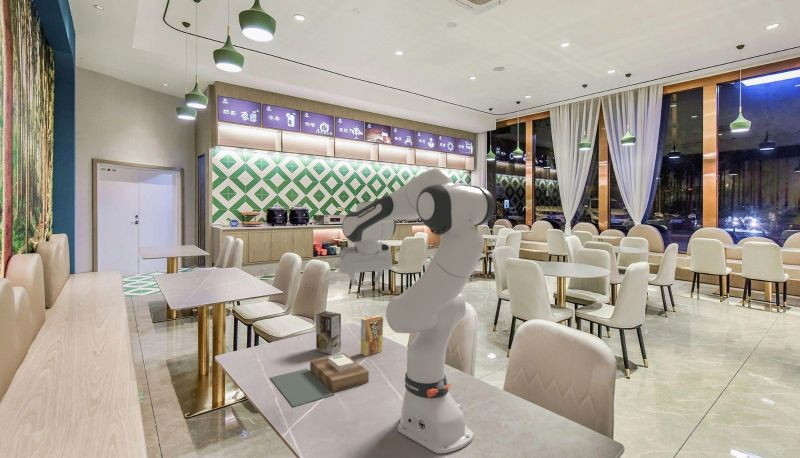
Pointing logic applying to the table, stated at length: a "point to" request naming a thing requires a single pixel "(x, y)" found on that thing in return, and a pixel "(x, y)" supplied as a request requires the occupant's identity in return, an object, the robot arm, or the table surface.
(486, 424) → the table surface
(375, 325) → the candy box
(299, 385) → the mat
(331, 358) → the white box
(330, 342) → the coffee box
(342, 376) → the block
